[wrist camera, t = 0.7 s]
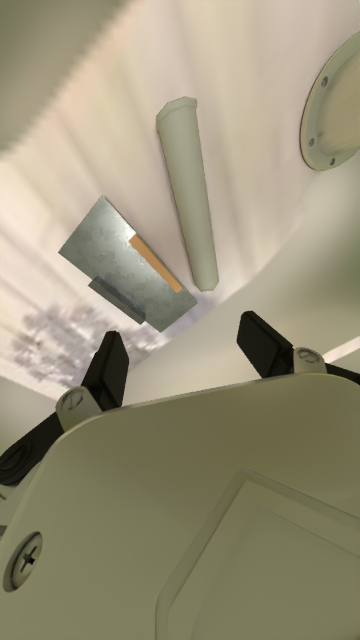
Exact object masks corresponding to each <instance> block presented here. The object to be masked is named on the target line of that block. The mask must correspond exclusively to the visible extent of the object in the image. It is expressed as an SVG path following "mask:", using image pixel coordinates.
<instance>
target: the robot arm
mask: <svg viewBox="0 0 360 640" xmlns="http://www.w3.org/2000/svg"><path fill="white" fill-rule="evenodd" d="M359 148H360V32H358V33H356V34H354V35H353V36H352V37H351V38H350V39H349V40H348V41H346V42H345V43H344V44H343V45H342V46H341V47H340V48H339V49H338V50H337V51H336V52H335V53H334V54H333V55H332V57H331V58H330V60H329V61H328V62H327V64H326V65H325V66H324V68H323V70H322V71H321V73H320V75H319V76H318V78H317V80H316V82H315V84H314V86H313V89H312V91H311V93H310V96H309V98H308V101H307V104H306V107H305V111H304V115H303V119H302V126H301V149H302V154H303V157H304V159H305V161H306V162H307V164H308V165H309V166H310V167H311V168H312V169H315V170H322V171H324V170H328V169H331V168H334V167H336V166H339V165H340V164H342V163H344V162H345V161H346V160H348V159H349V158H350V157H351V156H353V155H354V153H355V152H356V151H357V150H358V149H359ZM237 344H238V345H239V347H240V348H241V349H242V351H243V352H244V354H245V355H246V356H247V358H248V359H249V361H250V362H251V364H252V365H253V366H254V368H255V369H256V371H257V372H258V373H259V375H260V376H261V377H262V379H258V380H253V381H248V382H243V383H237V384H232V385H227V386H222V387H216V388H211V389H206V390H201V391H196V392H190V393H185V394H180V395H176V396H170V397H166V398H160V399H155V400H150V401H146V402H141V403H136V404H131V405H127V406H123V407H121V406H122V401H123V395H124V389H125V383H126V377H127V371H128V366H129V357H128V355H127V352H126V349H125V347H124V344H123V341H122V339H121V336H120V333H119V332H116V331H108V332H106V334H105V336H104V339H103V341H102V343H101V346H100V348H99V350H98V352H96V353H95V355H94V357H93V359H92V361H91V364H90V366H89V368H88V370H87V373H86V375H85V377H84V379H83V381H82V384H81V386H77V387H74V388H72V389H70V390H68V391H67V392H66V393H64V394H63V395H62V396H61V397H60V399H59V400H58V402H57V404H56V407H55V408H56V411H55V412H54V413H53V414H52V415H50V416H49V417H48V418H46V419H45V420H44V421H43V422H41V423H40V424H39V425H38V426H36V427H35V428H34V429H32V430H31V431H30V432H28V433H27V434H26V435H25V436H23V437H22V438H21V439H20V440H18V441H17V442H16V443H15V444H13V445H12V446H11V447H9V448H8V449H7V450H6V451H5V452H4V453H3V454H2V456H1V457H0V640H360V374H358V373H355V372H352V371H349V370H346V369H343V368H340V367H337V366H334V365H331V364H328V363H325V362H324V359H323V357H322V356H321V355H320V354H318V353H317V352H315V351H313V350H311V349H308V348H303V347H300V348H296V349H293V348H292V347H293V345H292V344H291V343H290V342H289V341H288V340H286V339H285V338H284V337H283V336H282V335H280V334H279V333H278V332H277V331H276V330H275V329H273V328H272V327H271V326H270V325H269V324H267V323H266V322H265V321H264V320H263V319H262V318H260V317H259V316H258V315H257V314H256V313H255V312H253V311H246V312H244V313H243V314H242V315H241V320H240V325H239V330H238V335H237Z"/></svg>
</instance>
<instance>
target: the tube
mask: <svg viewBox="0 0 360 640" xmlns="http://www.w3.org/2000/svg"><path fill="white" fill-rule="evenodd" d="M196 108H197V100H196V99H193V98H189V97H182V98H180V99H177V100H174V101H172V102H169V103H167V104H166V105H165V107H164V108H163V109H162V110H161V111H160V112H159V114H158V115H157V116H156V129H157V132H159V135H160V138H161V142H162V147H163V151H164V155H165V159H166V163H167V168H168V172H169V176H170V180H171V184H172V189H173V193H174V197H175V201H176V205H177V209H178V214H179V218H180V222H181V226H182V230H183V235H184V239H185V243H186V247H187V251H188V255H189V260H190V264H191V268H192V272H193V276H194V281H195V285H196V286H197V287H198V288H199V290H200V291H201V292H203V291H211V290H214V288H215V287H216V286H217V284H218V282H219V277H218V269H217V262H216V255H215V247H214V240H213V233H212V225H211V218H210V211H209V203H208V196H207V189H206V181H205V174H204V167H203V159H202V152H201V145H200V138H199V130H198V123H197V116H196Z"/></svg>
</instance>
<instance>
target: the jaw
mask: <svg viewBox="0 0 360 640" xmlns="http://www.w3.org/2000/svg"><path fill="white" fill-rule="evenodd" d="M128 242H129V243H130V244H131V245H132V246H133V247H134V248H135V249H136V251H137V252H138V253H139V254H140V255H141V256H142V257H143V258H144V259H145V260H146V261H147V262H148V263H149V264H150V265H151V266H152V267H153V269H154V270H155V271H156V272H157V273H158V274H159V275H160V276H161V277H162V278H163V279H164V280H165V281H166V282H167V283H168V284H169V285H170V287H171V288H172V289H173V290H174V291H175V292H176V293H178V292H179V291H180V290H181V289H182V286H181V284H180V283H179V282H178V280H177V279H176V278H175V277H174V276H173V275H172V274H171V272H170V271H169V270H168V269H167V268H166V267H165V266H164V265H163V263H162V262H161V261H160V260H159V259H158V258H157V257H156V255H155V254H154V253H153V252H152V251H151V250H150V249H149V248H148V246H147V245H146V244H145V243H144V242H143V241H142V240H141V239H140V237H139V236H138V235H137V234H134V235H133V237H132V238H131V239H130V240H129V241H128Z"/></svg>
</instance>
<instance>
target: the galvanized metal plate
mask: <svg viewBox="0 0 360 640" xmlns="http://www.w3.org/2000/svg"><path fill="white" fill-rule="evenodd" d="M134 234H137V233H136V232H135V230H134V229H133V228H132V227H131V226H130V225H129V224H128V222H127V221H126V220H125V219H124V218H123V217H122V216H121V214H120V213H119V212H118V211H117V210H116V209H115V208H114V207H113V205H112V204H111V203H110V202H109V201H108V200H107V199H106V197H104V196H103V195H102V196H101V197H100V199H99V200H98V201H97V203H96V204H95V205H94V206H93V208H92V209H91V210H90V212H89V213H88V214H87V216H86V217H85V218H84V219H83V221H82V222H81V223H80V225H79V226H78V227H77V228H76V230H75V231H74V232H73V234H72V235H71V236H70V238H69V239H68V240H67V241H66V243H65V244H64V245H63V247H62V248H61V249H60V250H59V252H58V253H59V254H60V255H62V256H63V257H64V258H66V259H67V260H68V261H69V262H71V263H72V264H73V265H75V266H76V267H77V268H78V269H80V270H81V271H82V272H83V273H85V274H86V275H87V276H89V277H90V278H91V279H92V282H91V283H90V284H89V285H88V286H89V287H90V288H92V289H93V290H94V291H96V292H97V293H98V294H100V295H101V296H102V297H104V298H105V299H106V300H108V301H109V302H110V303H112V304H113V305H115V306H116V307H117V308H119V309H120V310H121V311H123V312H124V313H125V314H127V315H128V316H129V317H131V318H132V319H133V320H135V321H136V322H137V323H139V324H140V325H141V324H142V323H143V322H144V321H146V322H148V323H149V324H150V325H151V326H153V327H154V328H155V329H156V330H158V331H159V332H160V333H161V332H162V331H164V330H165V329H166V328H167V327H168V326H170V325H171V324H172V323H173V322H175V321H176V320H177V319H178V318H180V317H181V316H182V315H183V314H185V313H186V312H187V311H188V310H190V309H191V308H192V307H193V306H195V305H196V304H197V301H196V300H195V299H194V298H193V296H192V295H191V294H190V293H189V292H188V291H187V290H186V288H185V287H184V286H183V285H182V284H181V283H180V282H179V280H178V279H177V278H176V277H175V276H174V275H173V274H172V272H171V271H170V270H169V269H168V268H167V267H166V266H165V265H164V263H163V262H162V261H161V260H160V259H159V258H158V257H157V255H156V254H155V253H154V252H153V251H152V250H151V249H150V247H149V246H148V245H147V244H146V243H145V242H144V241H143V240H142V238H141V237H140V236H139V235H138V234H137V235H138V236H139V237H140V239H141V240H142V241H143V242H144V243H145V244H146V245H147V246H148V248H149V249H150V250H151V251H152V252H153V253H154V254H155V255H156V257H157V258H158V259H159V260H160V261H161V262H162V263H163V265H164V266H165V267H166V268H167V269H168V270H169V271H170V272H171V274H172V275H173V276H174V277H175V278H176V279H177V280H178V282H179V283H180V284H181V286H182V289H181V290H180V291H179V292H178V293H176V292H175V291H174V290H173V289H172V288H171V287H170V285H169V284H168V283H167V282H166V281H165V280H164V279H163V278H162V277H161V276H160V275H159V274H158V273H157V272H156V271H155V270H154V269H153V267H152V266H151V265H150V264H149V263H148V262H147V261H146V260H145V259H144V258H143V257H142V256H141V255H140V254H139V253H138V252H137V251H136V249H135V248H134V247H133V246H132V245H131V244H130V243H129V242H128V241H129V240H130V239H131V238H132V237H133V235H134Z"/></svg>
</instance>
